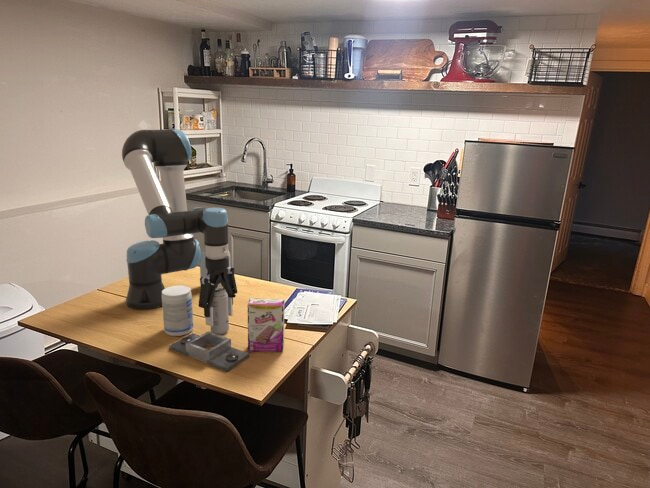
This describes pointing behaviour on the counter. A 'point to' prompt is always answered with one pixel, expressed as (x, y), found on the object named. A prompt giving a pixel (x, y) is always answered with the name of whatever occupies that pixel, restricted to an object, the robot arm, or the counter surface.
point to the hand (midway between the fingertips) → (219, 319)
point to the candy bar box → (266, 325)
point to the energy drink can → (220, 312)
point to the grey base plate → (210, 350)
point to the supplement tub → (177, 310)
